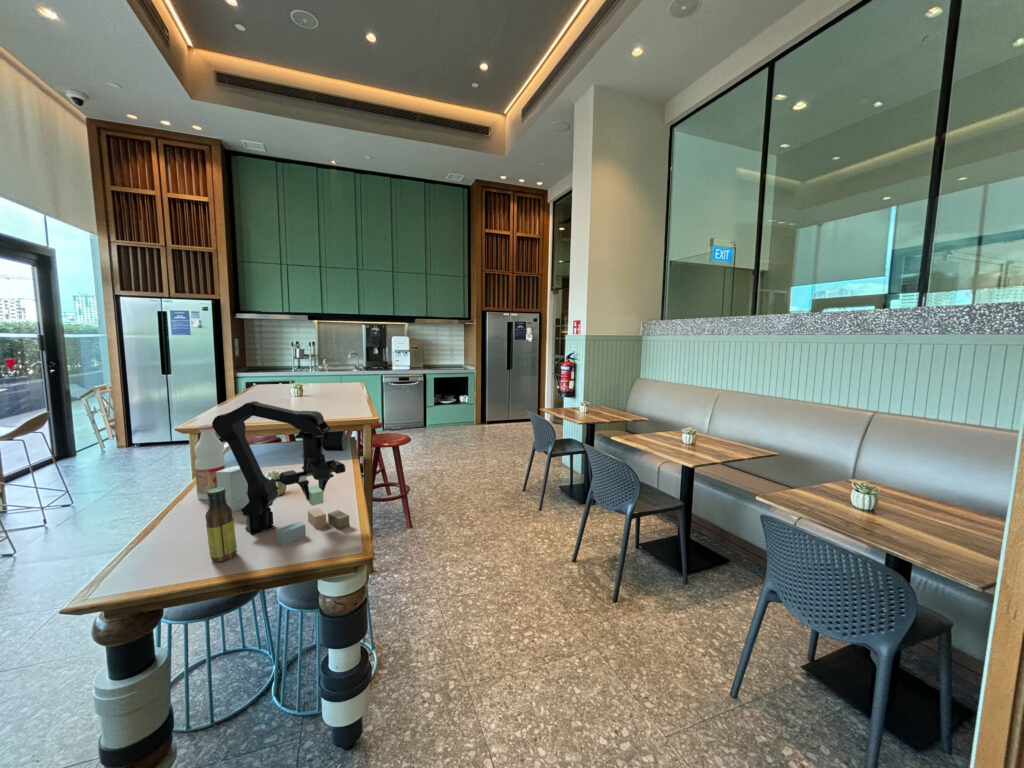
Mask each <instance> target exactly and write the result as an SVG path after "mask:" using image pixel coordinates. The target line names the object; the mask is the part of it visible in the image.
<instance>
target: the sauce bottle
mask: <svg viewBox="0 0 1024 768" xmlns="http://www.w3.org/2000/svg"><path fill="white" fill-rule="evenodd" d="M225 493H226V491H225V488H214V489H211V490H209V491H208V492H207V496H208V497H209V500H208V510H207V511H206V513H205V515H204V517H205V522H206V523H205V525H206V534H207V541H208V550H209V557H210V560H211V561H212V562H215V563H218V562H226V561H229V560H230V559H232V558H234V557H235V556H237V552H238V551H237V550H238V548H237V547H238V545H237V539H236V538H237V537H236V531H235V529H236V528H235V522H234V517H233V513H232V509H231V508H230V507H229V506H228V504H227V503H226V499H225Z"/></svg>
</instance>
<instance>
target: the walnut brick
mask: <svg viewBox="0 0 1024 768" xmlns="http://www.w3.org/2000/svg"><path fill="white" fill-rule="evenodd" d="M327 524H328V525H329V526H330V527H332V528H334V529H336V530H337V531H342V530H345V529H348V528H349V527H350V515H349V514H347V513H345V512H343V511H341V510H338V509H336V510H334V511H331V512H328V513H327Z"/></svg>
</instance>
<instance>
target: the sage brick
mask: <svg viewBox="0 0 1024 768" xmlns="http://www.w3.org/2000/svg"><path fill="white" fill-rule="evenodd" d="M308 488H309V500H307V499H306V498H305V500H306V501H307V502H308V503H309V504H310V506H312V507H313V506H316V505H323V504H324V492H323V490H321V489H320V488H319V485H317V484H315V485H310V486H308Z"/></svg>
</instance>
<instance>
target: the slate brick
mask: <svg viewBox="0 0 1024 768" xmlns="http://www.w3.org/2000/svg"><path fill="white" fill-rule="evenodd" d="M275 533H276V542H277V543H278V544H279V545H281V546H284V545H287V544H290V543H292V542H295V541H297V539H298V540H300V539H303V538H305V536H307V534H306V524H305V523H303V522H301V521H297V522H294V523H291V524H289V525H286V526H282V527H280V528H277V529H276V532H275ZM302 537H303V538H302Z"/></svg>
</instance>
